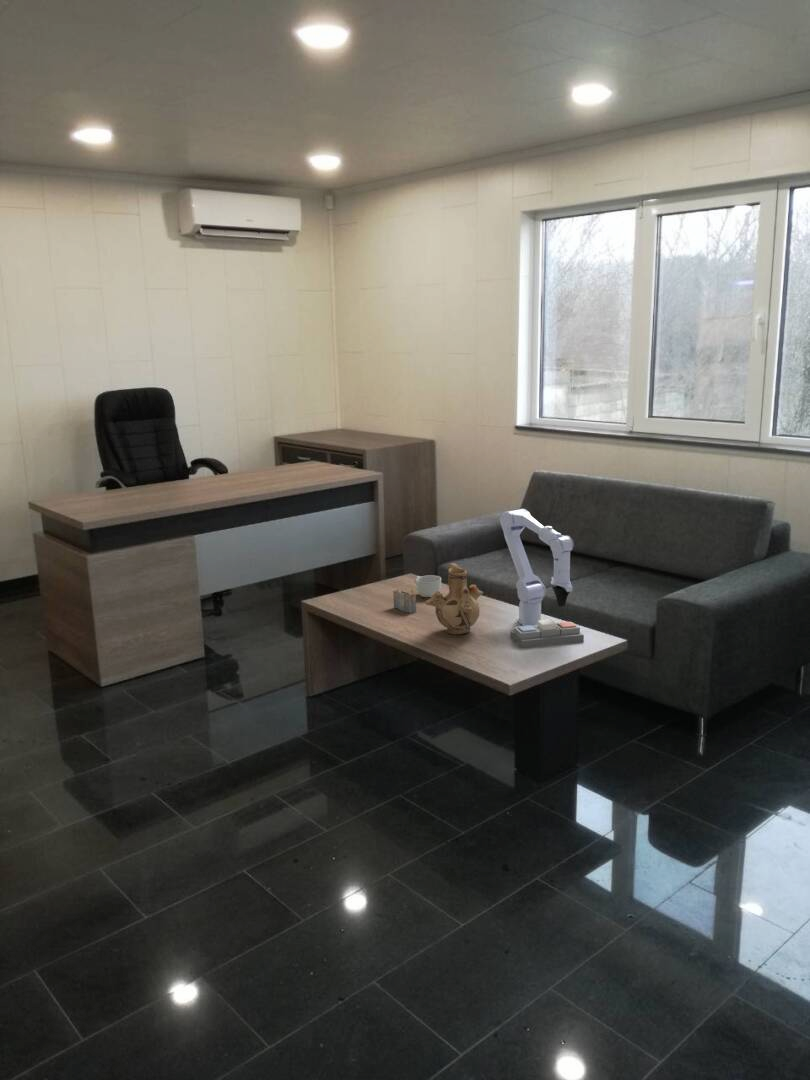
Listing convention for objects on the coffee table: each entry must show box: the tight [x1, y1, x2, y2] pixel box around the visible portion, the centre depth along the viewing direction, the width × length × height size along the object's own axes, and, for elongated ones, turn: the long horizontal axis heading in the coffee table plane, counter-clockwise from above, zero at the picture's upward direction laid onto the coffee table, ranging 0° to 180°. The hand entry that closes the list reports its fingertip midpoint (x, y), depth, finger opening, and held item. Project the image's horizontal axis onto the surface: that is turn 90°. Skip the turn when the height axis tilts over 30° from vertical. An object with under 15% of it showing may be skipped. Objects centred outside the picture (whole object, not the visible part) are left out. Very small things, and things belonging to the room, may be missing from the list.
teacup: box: [414, 574, 442, 598], centre depth 366 cm, size 14×11×8 cm
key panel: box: [510, 621, 585, 649], centre depth 306 cm, size 12×23×4 cm, turn 103°
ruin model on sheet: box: [392, 588, 417, 614], centre depth 346 cm, size 11×3×10 cm, turn 39°
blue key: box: [517, 625, 536, 632], centre depth 304 cm, size 5×5×2 cm
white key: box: [538, 619, 557, 631], centre depth 306 cm, size 5×5×2 cm
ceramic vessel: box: [424, 562, 484, 635], centre depth 316 cm, size 18×19×25 cm
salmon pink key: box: [556, 621, 577, 629], centre depth 308 cm, size 5×5×2 cm
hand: (561, 606), depth 311 cm, fingers closed
